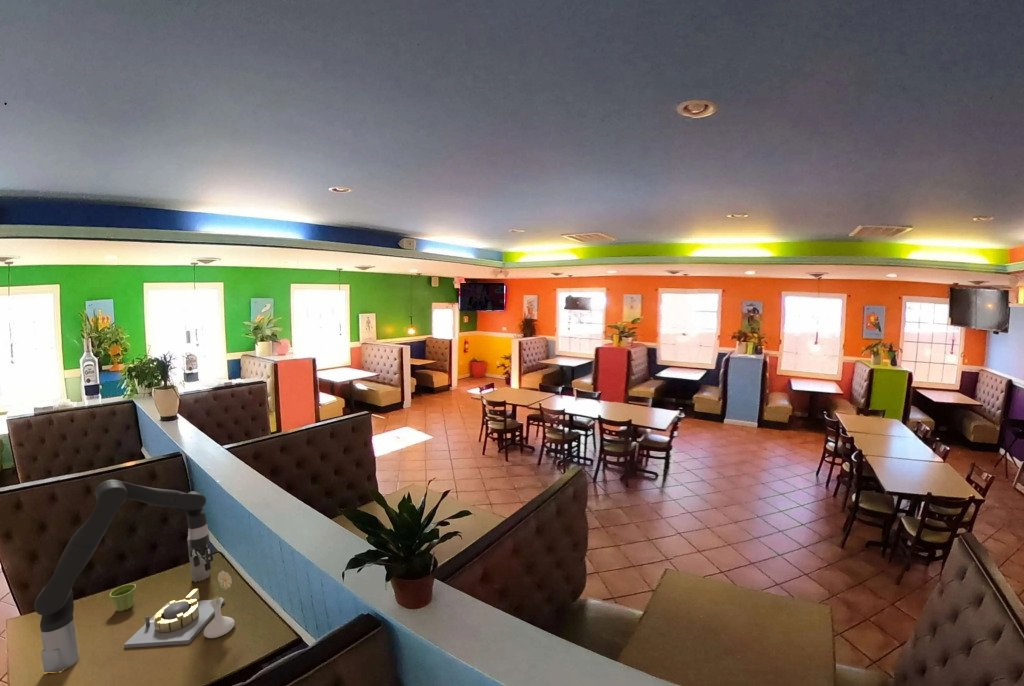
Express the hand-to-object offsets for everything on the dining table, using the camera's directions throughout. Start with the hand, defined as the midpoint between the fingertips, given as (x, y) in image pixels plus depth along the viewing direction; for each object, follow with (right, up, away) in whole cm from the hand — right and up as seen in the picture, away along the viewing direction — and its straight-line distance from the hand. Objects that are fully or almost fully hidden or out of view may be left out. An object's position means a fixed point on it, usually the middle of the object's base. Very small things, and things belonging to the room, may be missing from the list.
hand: (202, 567), depth 213 cm
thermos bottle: (-17, -17, +24) cm, 34 cm away
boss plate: (-4, -20, -10) cm, 23 cm away
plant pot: (-38, -20, +2) cm, 43 cm away
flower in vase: (+18, -20, -15) cm, 31 cm away
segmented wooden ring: (-5, -18, -7) cm, 19 cm away
